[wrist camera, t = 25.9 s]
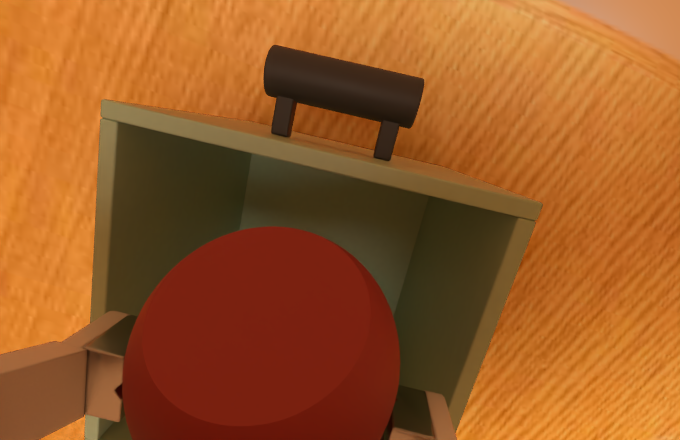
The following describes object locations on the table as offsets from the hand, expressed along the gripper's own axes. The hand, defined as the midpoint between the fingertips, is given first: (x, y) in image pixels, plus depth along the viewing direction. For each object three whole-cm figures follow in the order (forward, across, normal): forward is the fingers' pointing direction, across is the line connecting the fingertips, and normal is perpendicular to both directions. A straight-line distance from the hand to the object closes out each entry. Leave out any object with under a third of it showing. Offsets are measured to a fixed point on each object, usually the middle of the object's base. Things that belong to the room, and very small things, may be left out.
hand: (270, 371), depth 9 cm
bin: (+13, 0, -1) cm, 13 cm away
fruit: (+2, 0, 0) cm, 2 cm away
